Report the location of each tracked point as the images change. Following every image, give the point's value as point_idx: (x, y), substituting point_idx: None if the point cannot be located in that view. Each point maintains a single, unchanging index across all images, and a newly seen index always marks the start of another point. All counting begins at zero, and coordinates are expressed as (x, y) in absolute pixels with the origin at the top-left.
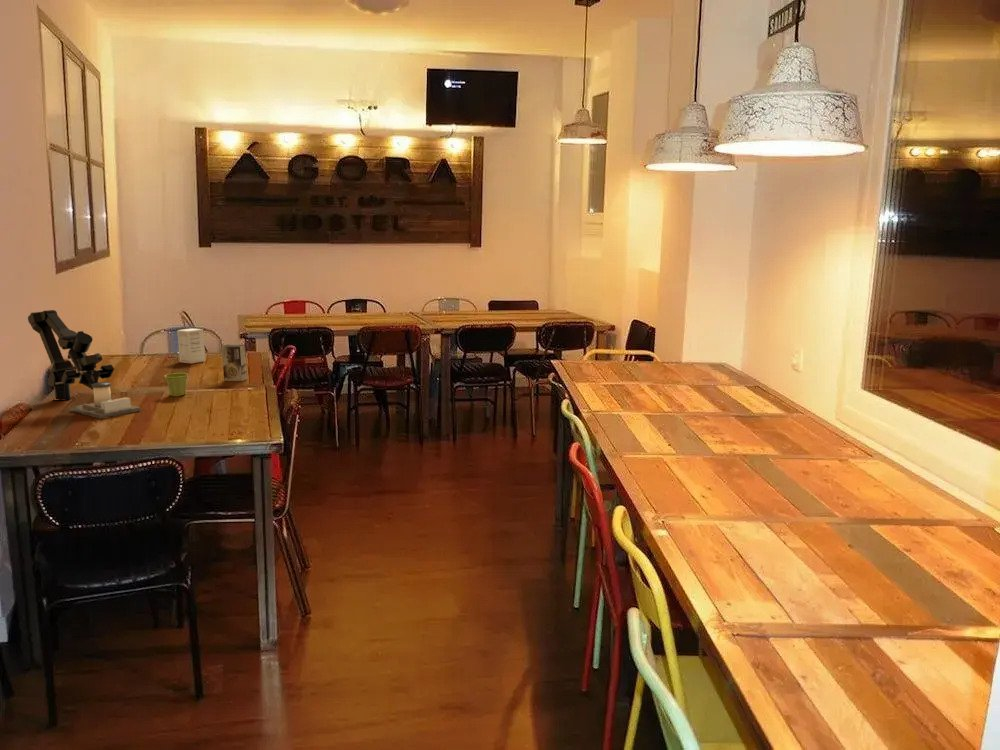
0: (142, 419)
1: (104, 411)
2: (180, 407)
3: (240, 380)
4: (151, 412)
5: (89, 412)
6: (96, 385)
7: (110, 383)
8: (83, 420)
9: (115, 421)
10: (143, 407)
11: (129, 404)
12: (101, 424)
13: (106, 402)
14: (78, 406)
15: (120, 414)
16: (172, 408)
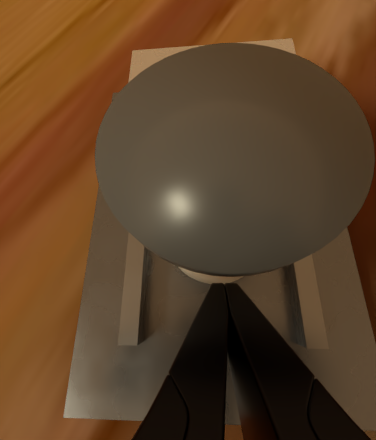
0: (191, 11)
1: None
2: (3, 66)
3: None
4: (109, 67)
5: None
6: (326, 75)
7: (137, 75)
8: (368, 122)
9: (269, 37)
10: (64, 158)
11: None
12: (326, 30)
13: (279, 41)
14: (337, 392)
15: None
16: (27, 71)
